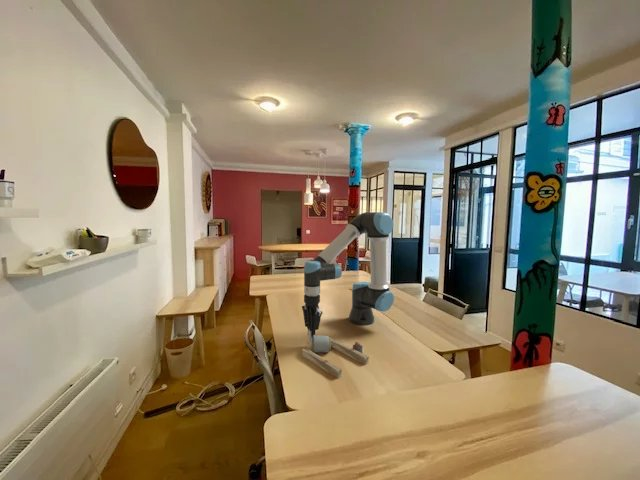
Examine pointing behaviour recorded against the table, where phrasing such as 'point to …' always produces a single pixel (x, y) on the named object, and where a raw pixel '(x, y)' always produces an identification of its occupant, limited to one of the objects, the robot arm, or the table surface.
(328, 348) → the ceramic mug
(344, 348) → the beam channel
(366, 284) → the robot arm
